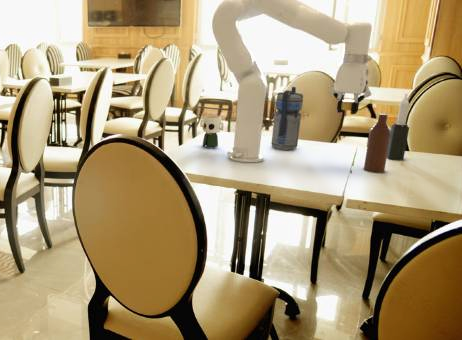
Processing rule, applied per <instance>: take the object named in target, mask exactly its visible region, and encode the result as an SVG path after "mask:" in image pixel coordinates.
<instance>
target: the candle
mask: <svg viewBox="0 0 462 340" xmlns="http://www.w3.org/2000/svg"><path fill="white" fill-rule="evenodd" d="M409 107H410V101H409V99H408V94H407V93H404V97H403V99H402V100H401V101H400V102H399V108H398V113H397V119H396V123H395V122H394V123H393V124H391V127H390V130H391V131H390V132H391V135H390V141H389V147H388V152H387V158H386V159H388V160H392V161H393V160H394V161H404V158H405V152H406V147H407V142H408V136H409V131H410V126H409V124H407V118H408V113H409Z"/></svg>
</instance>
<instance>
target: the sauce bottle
mask: <svg viewBox="0 0 462 340" xmlns="http://www.w3.org/2000/svg"><path fill="white" fill-rule="evenodd" d="M388 116H389V115H388V114H387V113H379V114H378V118H377V122H376V123H375V124H374V125H373V126H372V127H371V128H370V129H369V133H368V139H367V147H366V152H365V158H364V165H363V170H364V171H365V172H370V173H377V174H379V173H380V174H381V173H385V168H386V165H387V164H386V162H387V159H388V158H387V152H388V147H389V141H390V135H391V129H390V127H389V125H388V123H387V121H388Z"/></svg>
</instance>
